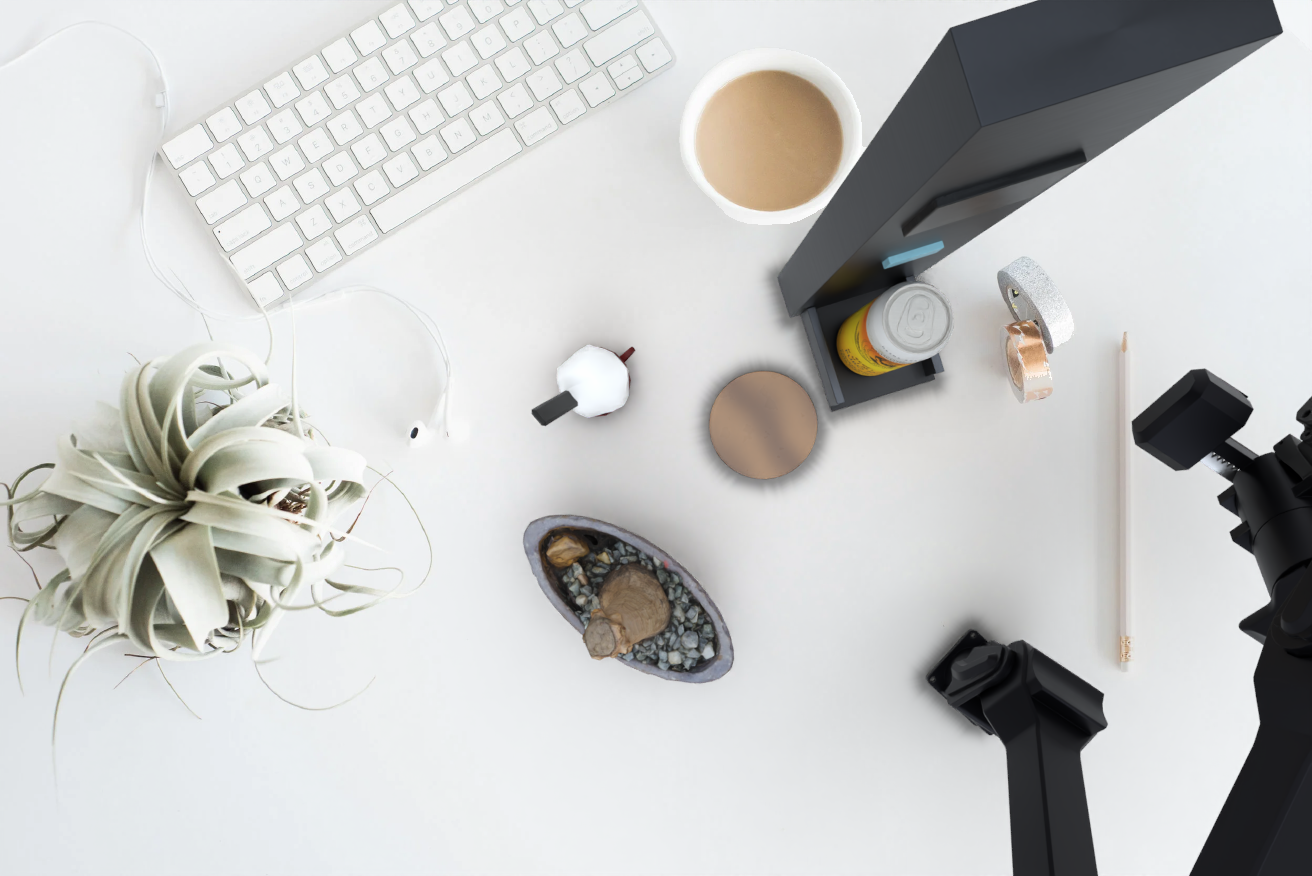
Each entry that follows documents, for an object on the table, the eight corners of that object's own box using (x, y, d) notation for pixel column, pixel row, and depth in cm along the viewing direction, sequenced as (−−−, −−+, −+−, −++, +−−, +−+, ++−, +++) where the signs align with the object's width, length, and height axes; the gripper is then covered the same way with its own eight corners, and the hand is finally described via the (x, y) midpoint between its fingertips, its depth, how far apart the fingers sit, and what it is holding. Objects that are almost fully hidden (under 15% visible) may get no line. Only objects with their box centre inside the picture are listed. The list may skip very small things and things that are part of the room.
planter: (536, 509, 77) (493, 531, 57) (716, 496, 77) (736, 514, 57) (548, 669, 77) (509, 747, 57) (728, 656, 77) (752, 729, 57)
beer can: (827, 367, 77) (868, 348, 62) (843, 304, 77) (888, 269, 62) (891, 383, 77) (948, 367, 62) (907, 319, 77) (967, 288, 62)
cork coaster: (766, 501, 77) (766, 501, 77) (686, 428, 77) (687, 428, 77) (838, 421, 77) (839, 421, 77) (759, 349, 77) (760, 348, 77)
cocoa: (631, 338, 77) (625, 318, 65) (652, 402, 77) (651, 393, 65) (534, 371, 77) (511, 357, 65) (556, 434, 77) (537, 432, 65)
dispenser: (943, 376, 77) (1362, 271, 31) (820, 415, 77) (1058, 367, 31) (899, 238, 77) (1252, -68, 31) (776, 276, 77) (949, 27, 31)
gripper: (1591, 553, 45) (1465, 415, 57) (1300, 362, 45) (1238, 266, 58) (1391, 657, 52) (1317, 514, 64) (1139, 491, 52) (1114, 380, 64)
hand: (1250, 420), depth 62 cm, fingers open, 9 cm apart
